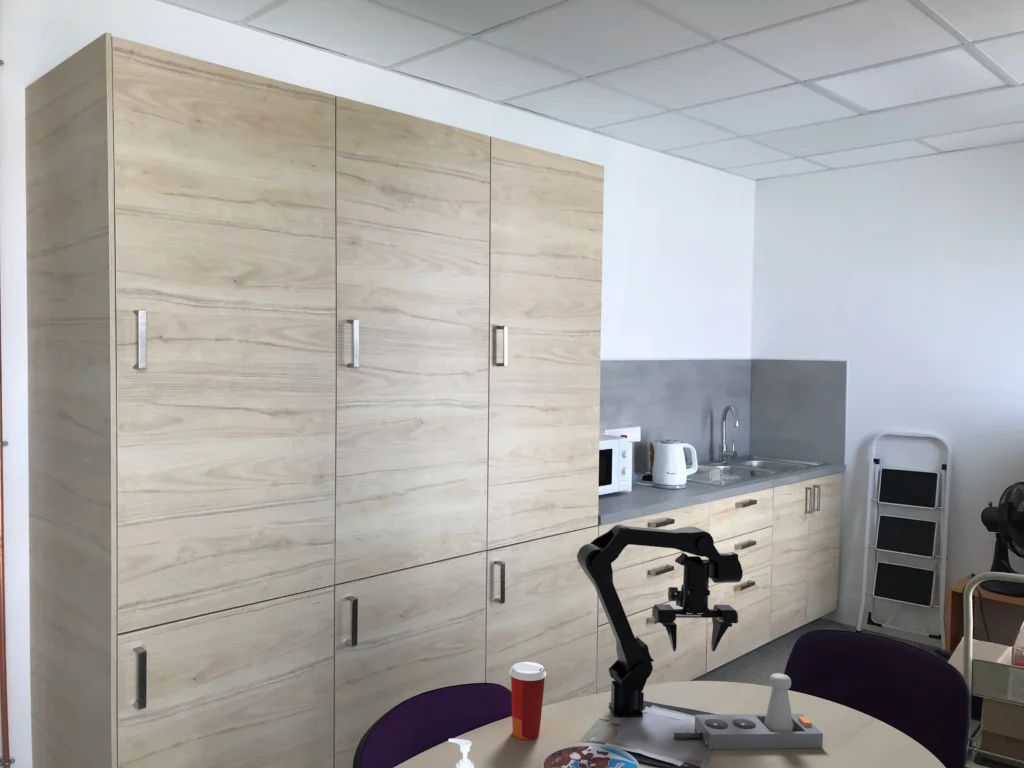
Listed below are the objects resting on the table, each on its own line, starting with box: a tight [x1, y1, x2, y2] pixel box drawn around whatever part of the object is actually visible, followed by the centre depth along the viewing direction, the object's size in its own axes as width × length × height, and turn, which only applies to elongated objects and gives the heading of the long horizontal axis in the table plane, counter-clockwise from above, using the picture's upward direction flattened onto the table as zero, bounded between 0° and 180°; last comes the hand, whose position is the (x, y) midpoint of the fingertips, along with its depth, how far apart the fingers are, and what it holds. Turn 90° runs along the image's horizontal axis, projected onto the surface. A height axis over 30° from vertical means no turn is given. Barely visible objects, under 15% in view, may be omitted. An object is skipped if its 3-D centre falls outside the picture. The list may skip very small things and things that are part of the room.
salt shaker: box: [764, 672, 793, 732], centre depth 169 cm, size 6×6×13 cm
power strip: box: [672, 713, 824, 750], centre depth 168 cm, size 30×10×4 cm, turn 95°
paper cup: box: [508, 661, 547, 741], centre depth 167 cm, size 8×8×14 cm
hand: (693, 650), depth 184 cm, fingers open, 9 cm apart
